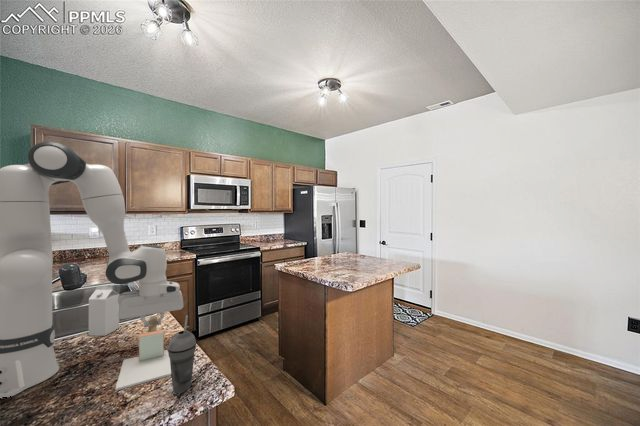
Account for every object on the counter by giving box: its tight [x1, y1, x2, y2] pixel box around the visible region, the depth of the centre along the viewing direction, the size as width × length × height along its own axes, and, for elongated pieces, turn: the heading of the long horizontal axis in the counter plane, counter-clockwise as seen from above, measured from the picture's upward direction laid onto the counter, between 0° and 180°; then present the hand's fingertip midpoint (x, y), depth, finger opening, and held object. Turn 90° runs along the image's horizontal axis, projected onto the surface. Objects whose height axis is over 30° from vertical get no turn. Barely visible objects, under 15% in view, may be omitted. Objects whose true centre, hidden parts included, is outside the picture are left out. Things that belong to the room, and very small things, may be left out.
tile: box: [138, 329, 165, 361], centre depth 87 cm, size 7×2×9 cm, turn 121°
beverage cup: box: [167, 315, 197, 393], centre depth 73 cm, size 7×7×20 cm
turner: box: [147, 315, 160, 333], centre depth 95 cm, size 6×17×3 cm, turn 31°
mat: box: [114, 349, 171, 391], centre depth 83 cm, size 14×17×1 cm
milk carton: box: [88, 286, 120, 337], centre depth 109 cm, size 7×7×19 cm
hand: (152, 325), depth 96 cm, fingers closed on turner, 2 cm apart
